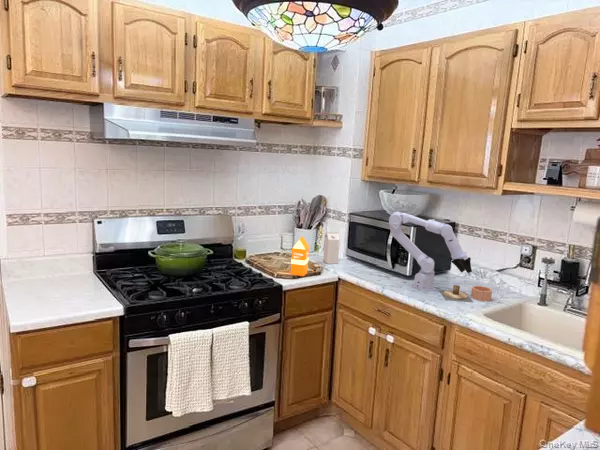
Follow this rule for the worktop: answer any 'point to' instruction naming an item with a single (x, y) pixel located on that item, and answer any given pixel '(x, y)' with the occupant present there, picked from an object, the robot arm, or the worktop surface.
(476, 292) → the bowl
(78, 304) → the worktop surface
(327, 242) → the milk carton
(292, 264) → the orange juice
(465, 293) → the mat
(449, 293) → the lid
